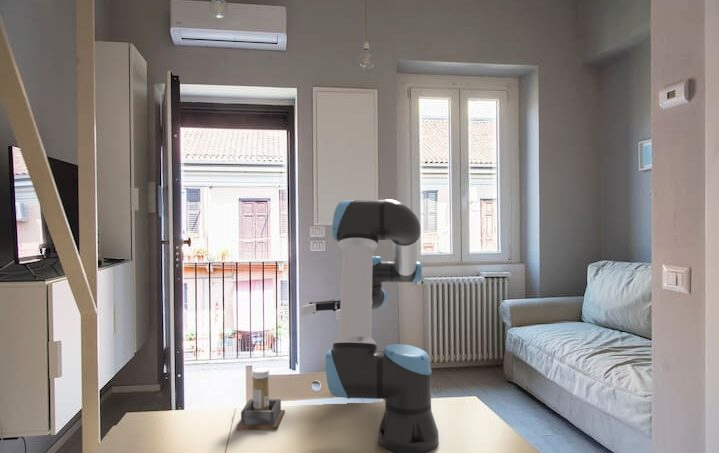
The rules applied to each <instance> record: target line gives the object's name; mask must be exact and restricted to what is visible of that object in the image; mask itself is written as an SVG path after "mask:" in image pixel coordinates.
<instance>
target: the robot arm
mask: <svg viewBox="0 0 719 453" xmlns="http://www.w3.org/2000/svg"><path fill="white" fill-rule="evenodd" d="M331 225H332V230H331V231H332V238H333V240H334V241H337V246H338V248H340V249H341V251H342V259H341V280H340V281H341V283H340V288H341V289H340V299H337V300H336V299H331V300H322V301H311V302H309V304H306V305H301V307H300V308H301V310H300V311H301V316H305V315H309V314H315V313H317V312H319V311H321V312H322V311H332V312H335V320H339V332H338V333H339V334H338V337H337V338H336V339H335V340H334V341H333V342H332V348H331V349H329V350H327V352H326V353H325V374H326V376H325V377H326V382H327V387H328V390H329V393H330V394H331V395H332V396H333V397H335V398H346V399H347V400H348V399H349V400H350V399H374V400H381V399H382V400H385V403H384V404H385V405H384V408H385V409H384V412H383V415H382V417H381V418H382V419H381V422H380V424H379V427H378V442H379V444H380V445H381V446H382V447H384V448H385V449H387V450H389V451H390V452H394V453H428V452H430V451H432V450H434V449H436V447H437V446H438V445H439V439H440V438H439V430H438V427H437V424H436V421H435V417H434V415H433V412H432V393H431V392H432V384H431V381H432V380H431V379H432V378H431V375H432V369H431V358H430V355H429V353H428V352H426V351H425V350H424V349H422V348H419V347H417V346H414V345H409V344H403V343H394V344H393V343H391V344H388V345H386V346H385V347H384V349H383V350H378V349H377V348H378V344H377V342H376V341H375V340H374V339H373V338H372V324H373V323H372V321H373V320H372V319H373V318H372V317H373V316H372V314H373V312H372V310H377V309H379V308H381V307H383V306H384V305H385V304H386V302H387V299H388V297H387V292H386V291H385V289H384V288H382V287H383V286H382V284H383V283H411V284H412V283H420V282H421V281H422V277H423V276H422V273H423V272H422V262H420V261H417V255H418V254H417V253H418V252H417V250H418V248H417V247H418V240H419V239H420V236H421V224H420V221H419V218H418V217H417V215H416V214H415V212H414V211H413V210H411V208H410V207H408V206H407V205H405V204H404V203H403V202H400V201H397V200H395V199H390V198H388V199H351V200H342V201H340V202H338V203H337V205H336V207H335V209H334V213H333V217H332V224H331ZM382 240H383V241H384V240H385V241H386V240H388V241H389V240H391V241H392V247H393V248H392V249H393V257H394V258H393V261H387V260H386V261H385V260H382V257H381V256H379V255H377V256H376V255H374V254H373V253H374V251H375V250H376V249H377V248H378V247H379V241H382Z"/></svg>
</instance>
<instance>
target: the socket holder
mask: <svg viewBox="0 0 719 453" xmlns="http://www.w3.org/2000/svg"><path fill="white" fill-rule="evenodd" d="M281 401H282V400H281V398H274V399H273V398H272V399H271V398H269V410H254V407H253V398H250V399H249V400H248V402H247V403H246V404H245V406H244V407H243V409H242V410H241V412H240V420H239V422H238V424H237V425H236V429H235V430H236V431H278V429H279V427H280V425H281V422H282V421H283V418H284V416H285V414H286V410H285V409H282V406H281V405H282V402H281Z"/></svg>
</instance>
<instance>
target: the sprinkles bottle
mask: <svg viewBox="0 0 719 453" xmlns="http://www.w3.org/2000/svg"><path fill="white" fill-rule="evenodd" d="M269 377H270V370H269V368H267V367H258V368H254V369H253V370H252V382H253V385H252V399H253V407H254V410H269V399H270V389H269V388H270V387H269Z"/></svg>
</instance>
